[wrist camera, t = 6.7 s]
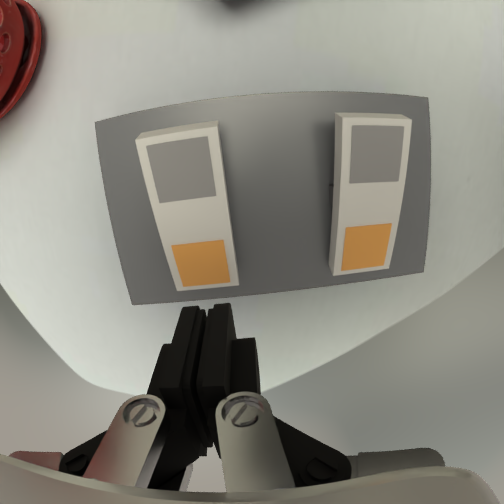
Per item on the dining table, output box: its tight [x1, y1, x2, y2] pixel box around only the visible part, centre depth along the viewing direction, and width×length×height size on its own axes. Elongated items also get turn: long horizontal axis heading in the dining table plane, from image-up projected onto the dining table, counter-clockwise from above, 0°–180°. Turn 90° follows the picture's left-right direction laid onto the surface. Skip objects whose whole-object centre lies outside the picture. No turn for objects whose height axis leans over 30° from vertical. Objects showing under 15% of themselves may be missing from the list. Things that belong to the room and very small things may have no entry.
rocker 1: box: [135, 121, 239, 291], centre depth 17 cm, size 4×10×1 cm, turn 6°
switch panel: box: [95, 91, 431, 305], centre depth 20 cm, size 22×13×4 cm, turn 95°
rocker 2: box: [329, 113, 412, 276], centre depth 17 cm, size 4×10×1 cm, turn 5°
